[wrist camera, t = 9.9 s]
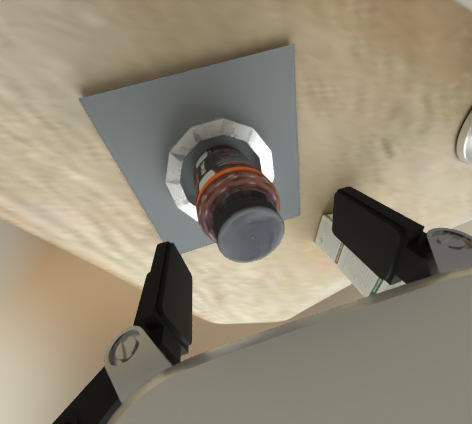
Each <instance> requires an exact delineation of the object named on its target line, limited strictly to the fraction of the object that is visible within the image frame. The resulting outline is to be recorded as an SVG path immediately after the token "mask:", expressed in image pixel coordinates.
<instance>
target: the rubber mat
mask: <svg viewBox="0 0 472 424" xmlns="http://www.w3.org/2000/svg"><path fill="white" fill-rule="evenodd" d="M79 101H80V102H81V104H82V106H83V107H84V109H85V111H86V112H87V114H88V116H89V117H90V119H91V121H92V123H93V124H94V126H95V128H96V129H97V131H98V133H99V134H100V136H101V138H102V139H103V141H104V143H105V144H106V146H107V148H108V149H109V151H110V153H111V155H112V156H113V158H114V160H115V161H116V163H117V165H118V166H119V168H120V170H121V171H122V173H123V175H124V176H125V178H126V180H127V181H128V183H129V185H130V187H131V188H132V190H133V192H134V193H135V195H136V197H137V198H138V200H139V202H140V203H141V205H142V207H143V208H144V210H145V212H146V213H147V215H148V217H149V219H150V220H151V222H152V224H153V225H154V227H155V229H156V230H157V232H158V234H159V235H160V237H161V239H162V240H163V242H167V241H169V242H170V243H174V244H175V246H176V248H177V250H178V251H179V253H180V254H182V253H186V252H189V251H192V250H195V249H198V248H201V247H204V246H207V245H210V244H213V243H215V242H214V241H212V240H211V239H209V238H208V237H207V236H206V235H205V233H204V232H203V231H202V229H201V227H200V226H199V222H198V221H196V220H195V219H194V218H192V217H191V216H189V215H188V214H186V213H185V212H183V211H182V210H180V209H179V208H178V207H177V206H176V204H175V202H174V199H173V197H172V195H171V193H170V191H169V189H168V187H167V185H166V183H165V181H166V174H167V166H168V158H169V152H170V149H171V147H172V146H173V145H174V143H175V142H176V141H177V140H178V139H179V138H180V137H181V135H182V134H183V133H184V132H185V131H186V130H187V128H188V127H189V126H190V125H192V124H196V123H199V122H203V121H206V120H210V119H214V118H217V117H222V118H225V119H228V120H231V121H234V122H237V123H240V124H243V125H246V126H249V127H251V128H253V129H254V130H255V131H256V132H257V134H258V135H259V136H260V137H261V139H262V140H263V141H264V143H265V144H266V145H267V146H268V148H269V149H270V150H271V154H272V163H273V171H274V179H273V182H272V183H273V185H274V186H275V187H276V189H277V191H278V194H279V197H280V213H279V215H280V216H281V218H282V220H283V221H284V220H287V219H290V218H293V217H296V216H299V215H300V196H299V167H298V139H297V110H296V82H295V54H294V44H291V45H287V46H283V47H280V48H276V49H272V50H268V51H264V52H260V53H256V54H252V55H248V56H244V57H240V58H236V59H232V60H228V61H225V62H221V63H217V64H213V65H209V66H205V67H201V68H197V69H193V70H189V71H185V72H181V73H177V74H174V75H170V76H166V77H162V78H158V79H154V80H150V81H146V82H142V83H138V84H134V85H130V86H126V87H122V88H119V89H115V90H111V91H107V92H103V93H99V94H95V95H91V96H87V97H83V98H79ZM218 145H226V146H231V147H234V148H236V149H237V150H239V151H240V152H241V153H242V154H243V155H244V156H245V157H246V158H247V159H248V160H249V161H250V162H251V163H252V164H253V165H254V166H256V164H255V158H254V153H253V152H252V150H251V149H250V148H249V147H248V146H247V145H246V143H245V142H244V141H243V140H240V139H237V138H234V137H230V136H227V135H224V134H223V135H219V136H216V137H212V138H209V139H205V140H202V141H199V142H198V143H197V144H196V145H195V147H194V148H193V149H192V150H191V151H190V152H189V153H188V154H187V155H186V157H185V158H184V159H183V163H182V169H181V175H180V176H181V178H182V180H183V183H184V185H185V188H186V190H187V193H189V194H190V195H191V196H193V197H194V198H195V188H194V167H195V164H196V161H197V160H198V158H199V157H200V155H201V154H202V153H203V152H205V151H206V150H207V149H209V148H211V147H214V146H218Z"/></svg>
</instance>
